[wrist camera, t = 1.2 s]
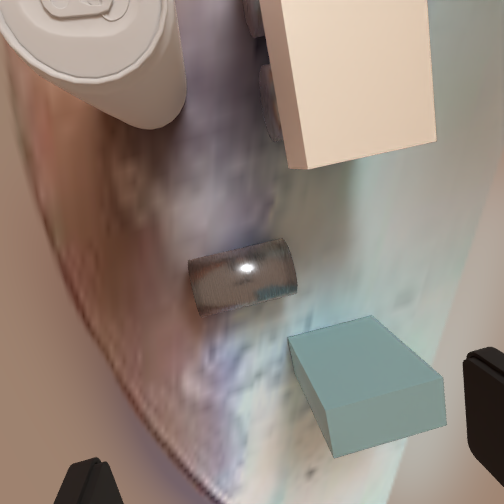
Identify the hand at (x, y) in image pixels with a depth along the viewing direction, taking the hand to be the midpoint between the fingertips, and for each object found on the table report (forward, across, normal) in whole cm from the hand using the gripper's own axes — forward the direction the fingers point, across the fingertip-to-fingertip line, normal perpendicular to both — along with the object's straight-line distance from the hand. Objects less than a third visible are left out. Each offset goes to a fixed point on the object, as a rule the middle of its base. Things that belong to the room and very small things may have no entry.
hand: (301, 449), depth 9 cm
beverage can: (+16, +3, -12) cm, 20 cm away
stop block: (+16, -6, +7) cm, 18 cm away
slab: (+11, -7, -12) cm, 18 cm away
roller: (+16, 0, 0) cm, 16 cm away
